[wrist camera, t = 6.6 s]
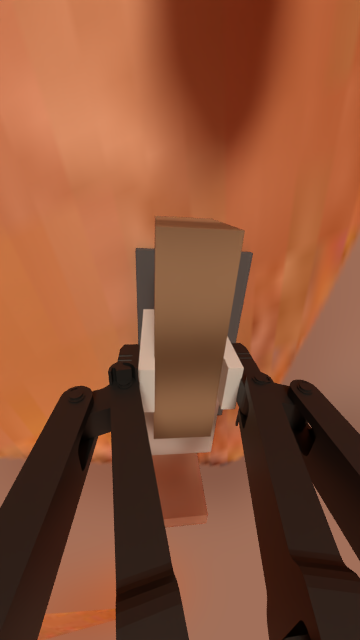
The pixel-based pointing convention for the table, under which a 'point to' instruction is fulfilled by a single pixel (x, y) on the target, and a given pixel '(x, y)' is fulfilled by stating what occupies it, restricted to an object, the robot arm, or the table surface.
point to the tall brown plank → (190, 329)
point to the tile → (180, 489)
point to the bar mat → (146, 290)
